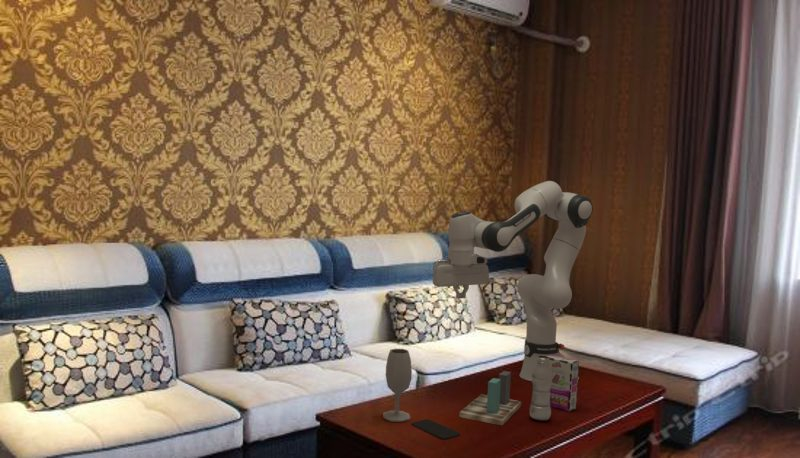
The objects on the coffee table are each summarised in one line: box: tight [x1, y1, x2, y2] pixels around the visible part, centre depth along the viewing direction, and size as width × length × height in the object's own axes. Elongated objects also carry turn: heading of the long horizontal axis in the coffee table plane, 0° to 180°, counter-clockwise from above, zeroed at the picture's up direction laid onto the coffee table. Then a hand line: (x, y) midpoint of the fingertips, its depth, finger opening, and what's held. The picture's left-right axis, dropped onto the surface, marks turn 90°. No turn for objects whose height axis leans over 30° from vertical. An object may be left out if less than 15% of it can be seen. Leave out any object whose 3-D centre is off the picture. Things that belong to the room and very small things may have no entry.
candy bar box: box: [547, 355, 580, 413], centre depth 234 cm, size 11×5×16 cm, turn 47°
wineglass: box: [382, 348, 413, 423], centre depth 215 cm, size 9×9×21 cm
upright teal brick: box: [487, 377, 501, 414], centre depth 220 cm, size 2×5×10 cm, turn 155°
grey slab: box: [498, 370, 512, 405], centre depth 229 cm, size 2×5×10 cm, turn 155°
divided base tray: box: [458, 393, 522, 426], centre depth 226 cm, size 14×21×2 cm, turn 155°
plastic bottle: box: [529, 356, 553, 422], centre depth 220 cm, size 6×7×20 cm
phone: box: [410, 418, 461, 441], centre depth 208 cm, size 7×1×15 cm
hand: (460, 298), depth 244 cm, fingers closed
